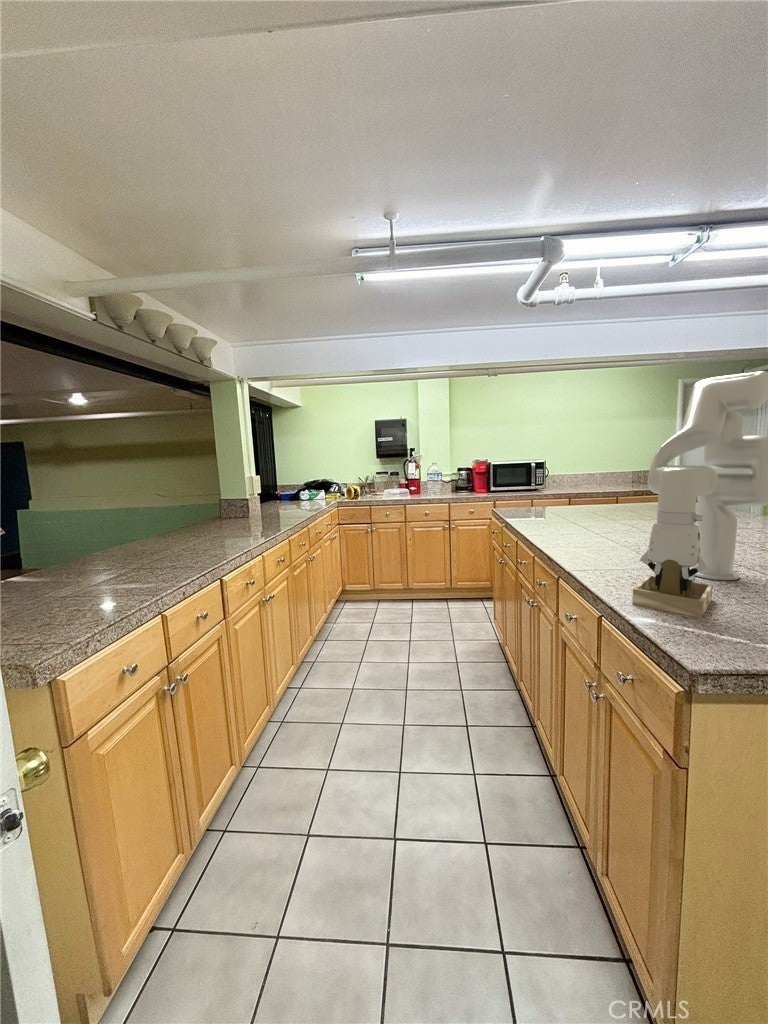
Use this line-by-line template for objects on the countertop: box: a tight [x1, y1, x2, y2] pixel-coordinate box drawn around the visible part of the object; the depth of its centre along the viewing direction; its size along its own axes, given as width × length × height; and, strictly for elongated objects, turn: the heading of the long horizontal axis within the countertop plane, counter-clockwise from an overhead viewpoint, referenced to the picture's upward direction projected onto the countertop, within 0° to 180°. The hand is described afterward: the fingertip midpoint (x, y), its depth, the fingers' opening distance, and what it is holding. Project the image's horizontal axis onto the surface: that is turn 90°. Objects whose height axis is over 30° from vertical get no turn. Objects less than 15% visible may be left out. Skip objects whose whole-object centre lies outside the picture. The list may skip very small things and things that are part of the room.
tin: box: [684, 575, 696, 599], centre depth 107 cm, size 5×7×6 cm
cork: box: [657, 560, 685, 597], centre depth 102 cm, size 6×6×11 cm
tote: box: [632, 574, 714, 619], centre depth 104 cm, size 16×14×4 cm
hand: (670, 590), depth 102 cm, fingers closed on cork, 3 cm apart
